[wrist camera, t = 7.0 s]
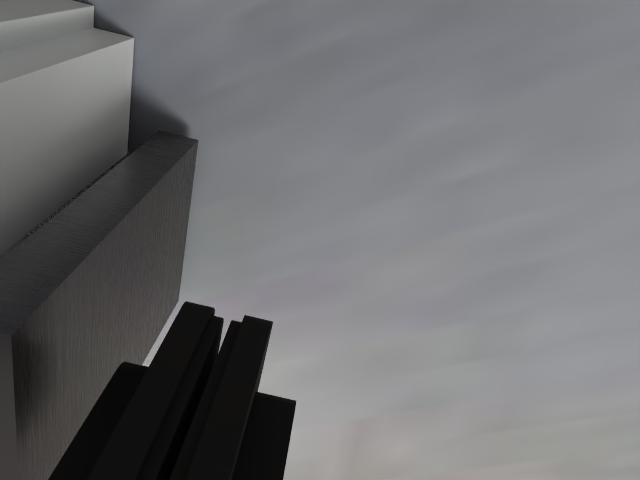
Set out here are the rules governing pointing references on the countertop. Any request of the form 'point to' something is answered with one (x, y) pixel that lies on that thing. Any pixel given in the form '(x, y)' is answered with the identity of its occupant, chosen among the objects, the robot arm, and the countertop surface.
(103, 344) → the plunger rod
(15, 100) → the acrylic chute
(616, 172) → the countertop surface
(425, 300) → the countertop surface
